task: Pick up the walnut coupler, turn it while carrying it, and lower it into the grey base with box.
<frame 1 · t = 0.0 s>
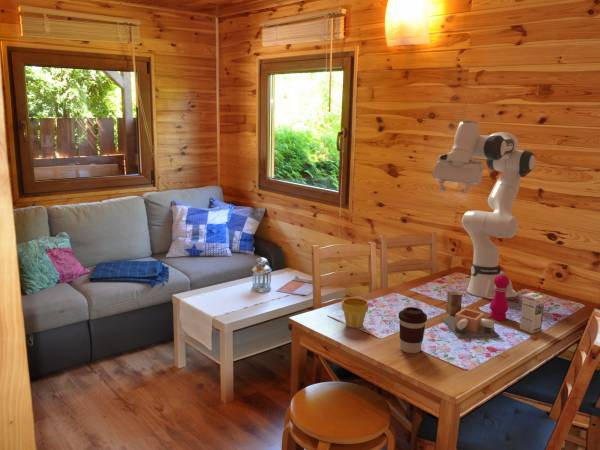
hand: (452, 192, 210), 52 cm above the table, tool tilted 20°, fingers open, 8 cm apart
pepper mill: (497, 317, 217), on the table
syrup box: (530, 330, 205), on the table
coffee cup: (410, 349, 186), on the table
plant pot: (354, 325, 207), on the table
grey base with box: (468, 328, 206), on the table
walnut coupler: (453, 312, 221), on the table
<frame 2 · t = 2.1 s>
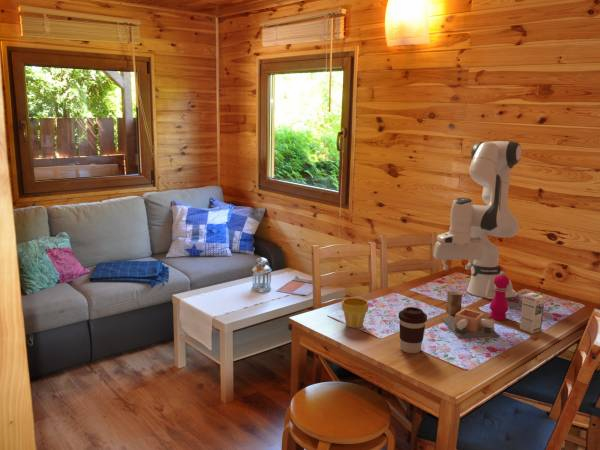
hand: (456, 269, 217), 19 cm above the table, tool pointing down, fingers open, 8 cm apart
nothing on the table moved.
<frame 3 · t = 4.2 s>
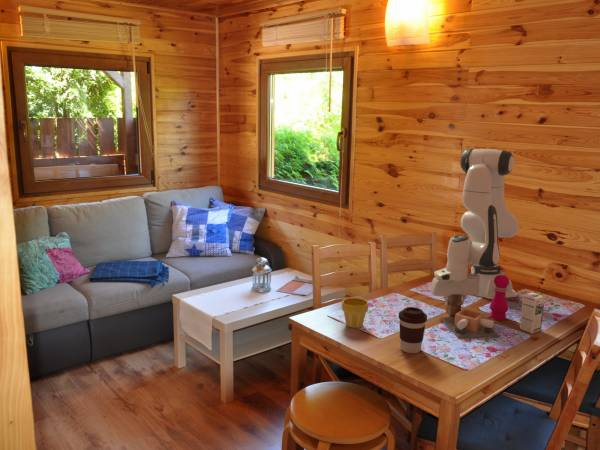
hand: (453, 304, 221), 4 cm above the table, tool pointing down, fingers closed on walnut coupler, 4 cm apart
walnut coupler: (453, 312, 221), on the table, touching gripper
everything else where it was.
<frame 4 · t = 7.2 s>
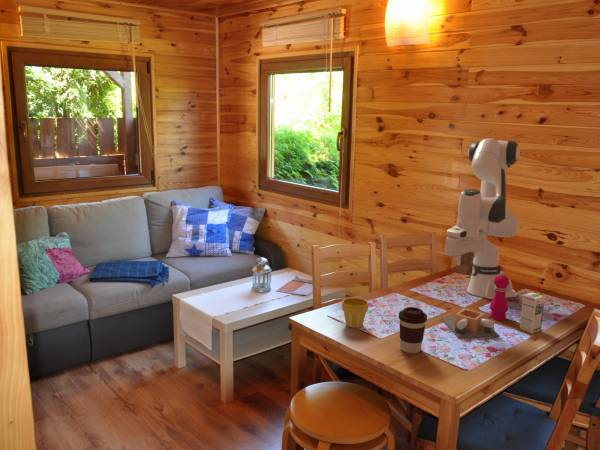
hand: (464, 264, 208), 24 cm above the table, tool pointing down, fingers closed on walnut coupler, 4 cm apart
walnut coupler: (463, 273, 208), point 21 cm above the table, touching gripper
everything else where it was.
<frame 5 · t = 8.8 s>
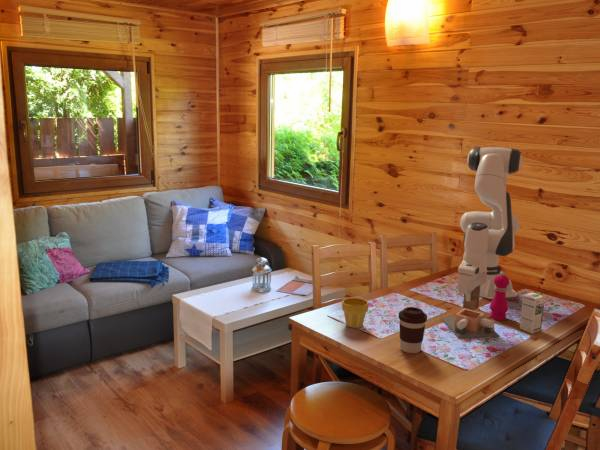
hand: (471, 298, 203), 12 cm above the table, tool pointing down, fingers closed on walnut coupler, 4 cm apart
walnut coupler: (470, 307, 204), point 9 cm above the table, touching gripper
everything else where it was.
when the fingers open (8 cm above the table, at t = 10.2 s): walnut coupler drops 3 cm, resting on grey base with box.
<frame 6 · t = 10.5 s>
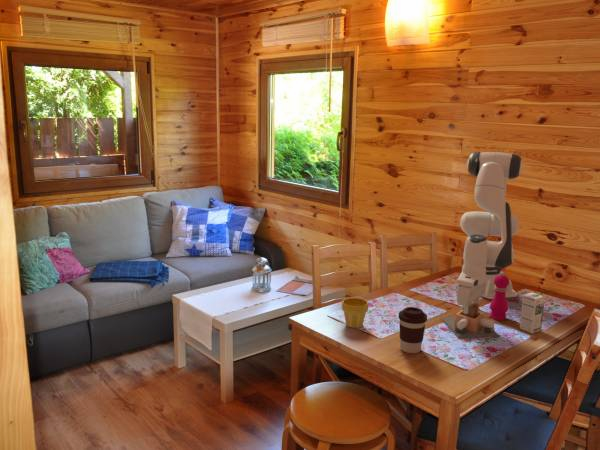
hand: (470, 310, 204), 8 cm above the table, tool pointing down, fingers open, 7 cm apart
walnut coupler: (468, 325, 206), point 1 cm above the table, touching grey base with box
everything else where it was.
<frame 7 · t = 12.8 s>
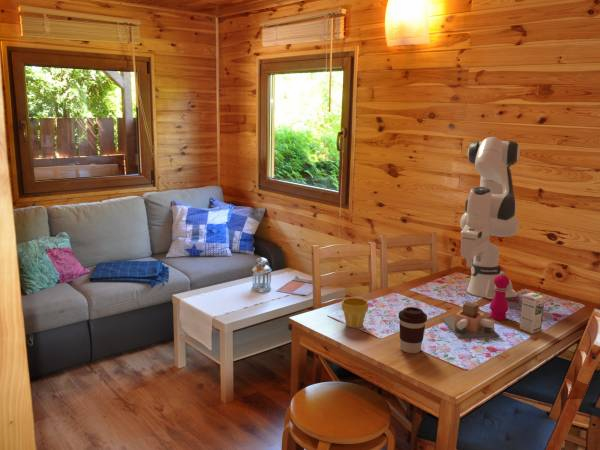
hand: (474, 263, 203), 26 cm above the table, tool pointing down, fingers open, 8 cm apart
nothing on the table moved.
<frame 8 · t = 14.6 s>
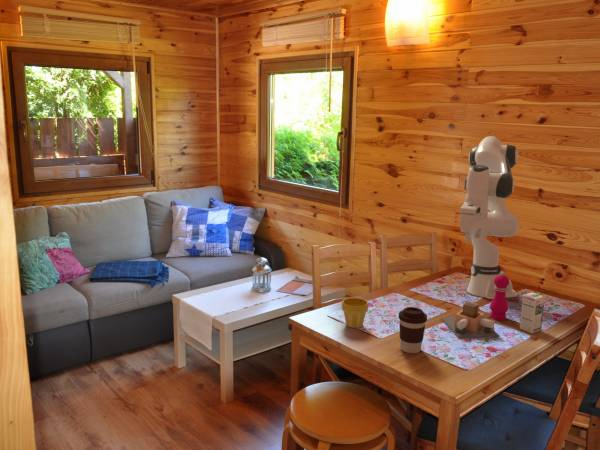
hand: (473, 239, 211), 33 cm above the table, tool pointing down, fingers open, 8 cm apart
nothing on the table moved.
at the end: walnut coupler 0.0 cm off-centre on the grey base with box, point 1.0 cm above the grey base with box's base; walnut coupler tilted 0°; the gripper is holding nothing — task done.
